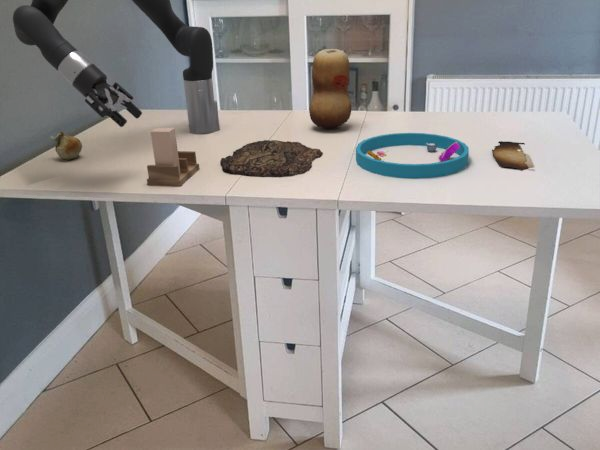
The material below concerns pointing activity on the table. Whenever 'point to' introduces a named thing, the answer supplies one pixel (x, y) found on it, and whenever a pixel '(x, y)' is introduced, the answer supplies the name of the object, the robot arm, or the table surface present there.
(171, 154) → the clay block
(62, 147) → the onion
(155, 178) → the rack
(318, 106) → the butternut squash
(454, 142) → the teal plastic ring
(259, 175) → the stone relief
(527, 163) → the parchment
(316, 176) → the table surface
